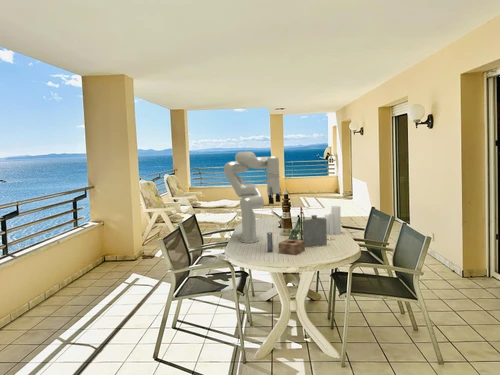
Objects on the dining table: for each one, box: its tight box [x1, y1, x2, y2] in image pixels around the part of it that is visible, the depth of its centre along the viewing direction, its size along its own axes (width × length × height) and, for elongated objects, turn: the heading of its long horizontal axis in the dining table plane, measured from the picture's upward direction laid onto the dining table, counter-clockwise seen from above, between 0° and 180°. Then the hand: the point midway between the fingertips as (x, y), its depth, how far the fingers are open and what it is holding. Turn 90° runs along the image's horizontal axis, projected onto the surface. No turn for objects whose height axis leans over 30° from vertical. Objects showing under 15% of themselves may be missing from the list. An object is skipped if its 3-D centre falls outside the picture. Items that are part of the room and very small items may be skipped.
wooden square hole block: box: [278, 238, 306, 256], centre depth 244 cm, size 12×12×6 cm
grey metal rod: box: [266, 231, 274, 253], centre depth 245 cm, size 3×3×12 cm
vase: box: [324, 205, 342, 236], centre depth 289 cm, size 11×7×20 cm, turn 90°
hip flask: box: [302, 214, 328, 248], centre depth 257 cm, size 16×4×20 cm, turn 100°
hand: (274, 202), depth 251 cm, fingers open, 9 cm apart
